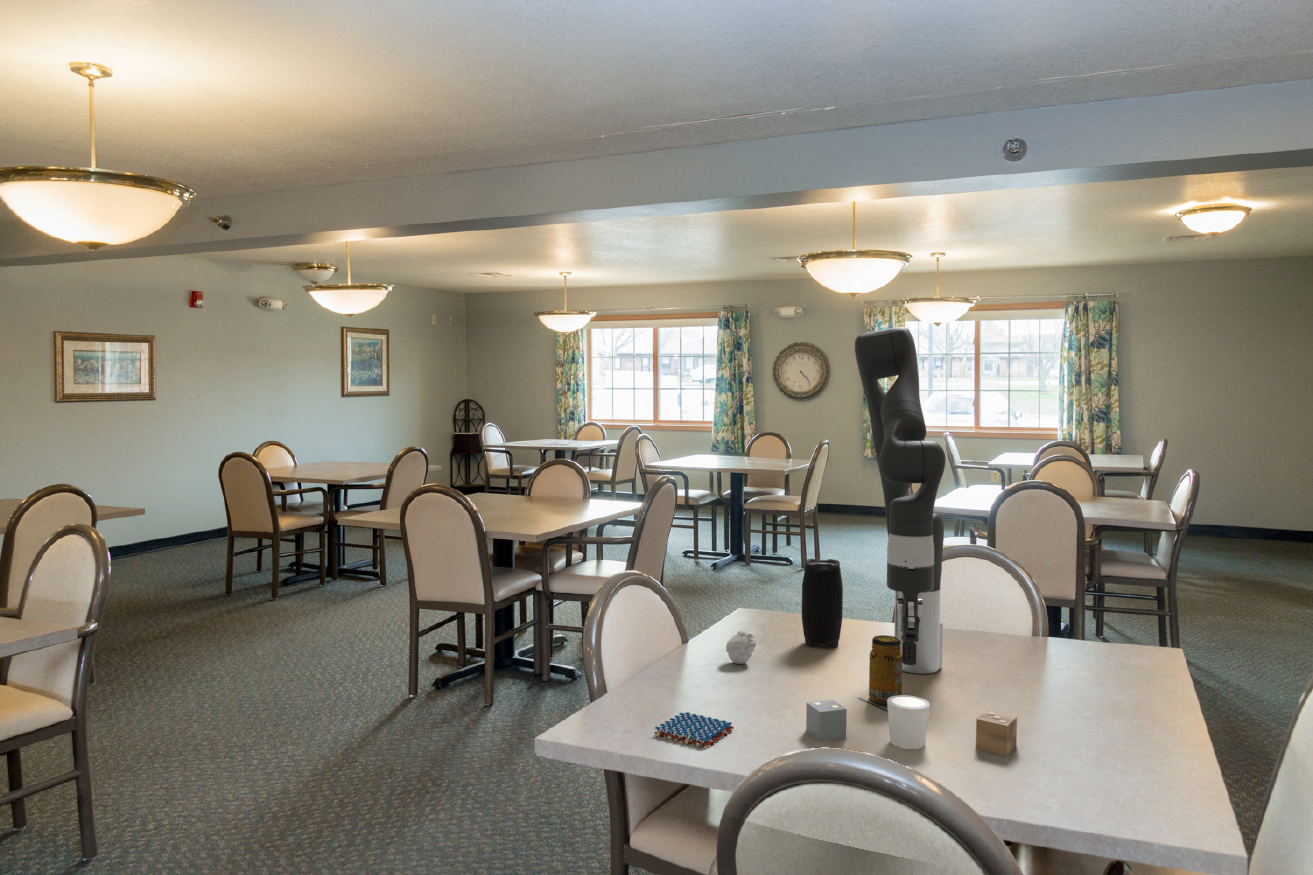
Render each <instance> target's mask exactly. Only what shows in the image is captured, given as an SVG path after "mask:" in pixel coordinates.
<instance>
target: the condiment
mask: <svg viewBox="0 0 1313 875" xmlns="http://www.w3.org/2000/svg"><path fill="white" fill-rule="evenodd" d="M871 643H872V644H871V648H872V649H871V650H870V652H869V670H868V671H869V674H868V675H869V678H868V679H869V680H868V695H860V696H858V698H859V699H861V700H863V701H865V702H867V703H870V704H872V705H875V706H877V707H879V708H881V709H884V710H886V711H888V705H887V700H888V698H890V697H892V696H899V695H903V694H902V693H903V692H902V691H903V683H902V682H903V671H902V654H901V652H900V650H901V647H900V644H901V641H900V639H899V638H897V637H894V636H892V635H884V634H883V635H881V634H880V635H875V636H873V637H872V639H871Z"/></svg>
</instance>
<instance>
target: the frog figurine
mask: <svg viewBox="0 0 1313 875" xmlns="http://www.w3.org/2000/svg"><path fill="white" fill-rule="evenodd" d="M756 645H757V639H756V636H755V635H754V634H752V632H749V631H747V630H745V629H744V630H738V631H737V632H736V634H734V635H732V636H731V638H730V639H729V640H728V641H727V642H726V646H725V647H726V649H725V652H727V654H728V657H729V659H730V660H731V662H733V663H734V664H738V665H744V664H745V663H747V662H749V660H751V657H752V655H753V654H752V653H753V652H754V650H755V648H756Z"/></svg>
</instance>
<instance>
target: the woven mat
mask: <svg viewBox="0 0 1313 875" xmlns="http://www.w3.org/2000/svg"><path fill="white" fill-rule="evenodd" d="M678 714H679V715H678ZM678 714H677V715H674V718H673V717H670V718H669V720H665V721H664V723H660V724H659V726H655V727H654V729H655V730H657V731H655V732H654V734H655V737H658V738H660V737H662V739H665V738H666V739H667V740H668V741H672V740H673V741H675V742H677V743H678V744H683V743H684V744H685V745H691V746H696V747H697V748H700V747H702V748H703V749H707V748H708V746H709V747H710V746H712V745H714V744H715V743H716V742H718V741H719V740H721V739H722V738H723V737H725V736H727V735H728V734H729V733H731V732H732V731H733V730H734V727H735V726H732V724H733V722H732V721H727V720H724V719H723V720H722V719H718V718H713V717H711V716H708V717H707V716H704V715H702V714H701V715H699V714H696V713H693V714H692V713H691V712H690V711H687V712H685V713H684V712H678ZM701 745H702V746H701Z"/></svg>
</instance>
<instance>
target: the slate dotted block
mask: <svg viewBox="0 0 1313 875" xmlns="http://www.w3.org/2000/svg"><path fill="white" fill-rule="evenodd" d="M847 712H848V709H847V708H846V707H845V706H843V705H842V704H840V703H838V701H836V700H834V699H826V700H816V701H807V702H806V716H805V717H806V722H805V723H806V724H805V727H806V728H805V731H806V732H808V733H809V734H810V733H811V736H813V737H815V739H817V740H818V741H819V742H821V741H831V740H839V739H846V738H847V725H848V724H847V721H848V720H847V715H848V714H847Z"/></svg>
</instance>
